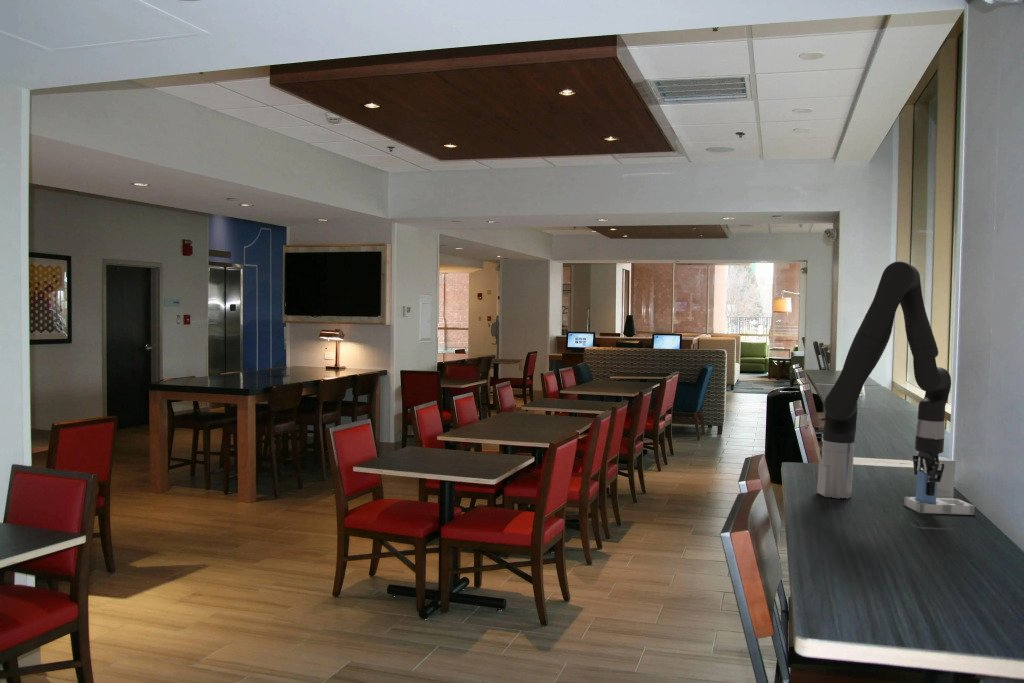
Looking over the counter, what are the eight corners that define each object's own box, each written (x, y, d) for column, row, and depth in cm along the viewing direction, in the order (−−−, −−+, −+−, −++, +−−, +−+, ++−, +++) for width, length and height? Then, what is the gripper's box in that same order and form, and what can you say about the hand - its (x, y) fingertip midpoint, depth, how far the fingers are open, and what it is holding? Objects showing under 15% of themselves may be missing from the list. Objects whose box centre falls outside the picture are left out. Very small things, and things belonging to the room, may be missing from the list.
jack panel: (919, 514, 242) (919, 503, 242) (903, 506, 251) (904, 496, 251) (973, 516, 242) (974, 505, 242) (956, 508, 251) (957, 497, 251)
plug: (921, 507, 245) (924, 469, 244) (915, 503, 248) (917, 467, 248) (935, 507, 245) (938, 470, 244) (928, 504, 249) (930, 467, 248)
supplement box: (953, 501, 261) (956, 461, 260) (929, 500, 261) (932, 459, 261) (942, 495, 269) (944, 456, 268) (918, 494, 269) (921, 455, 268)
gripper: (905, 431, 252) (901, 487, 253) (929, 439, 238) (925, 498, 239) (929, 432, 253) (926, 488, 254) (955, 440, 238) (951, 499, 239)
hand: (926, 493), depth 246 cm, fingers closed on plug, 4 cm apart
